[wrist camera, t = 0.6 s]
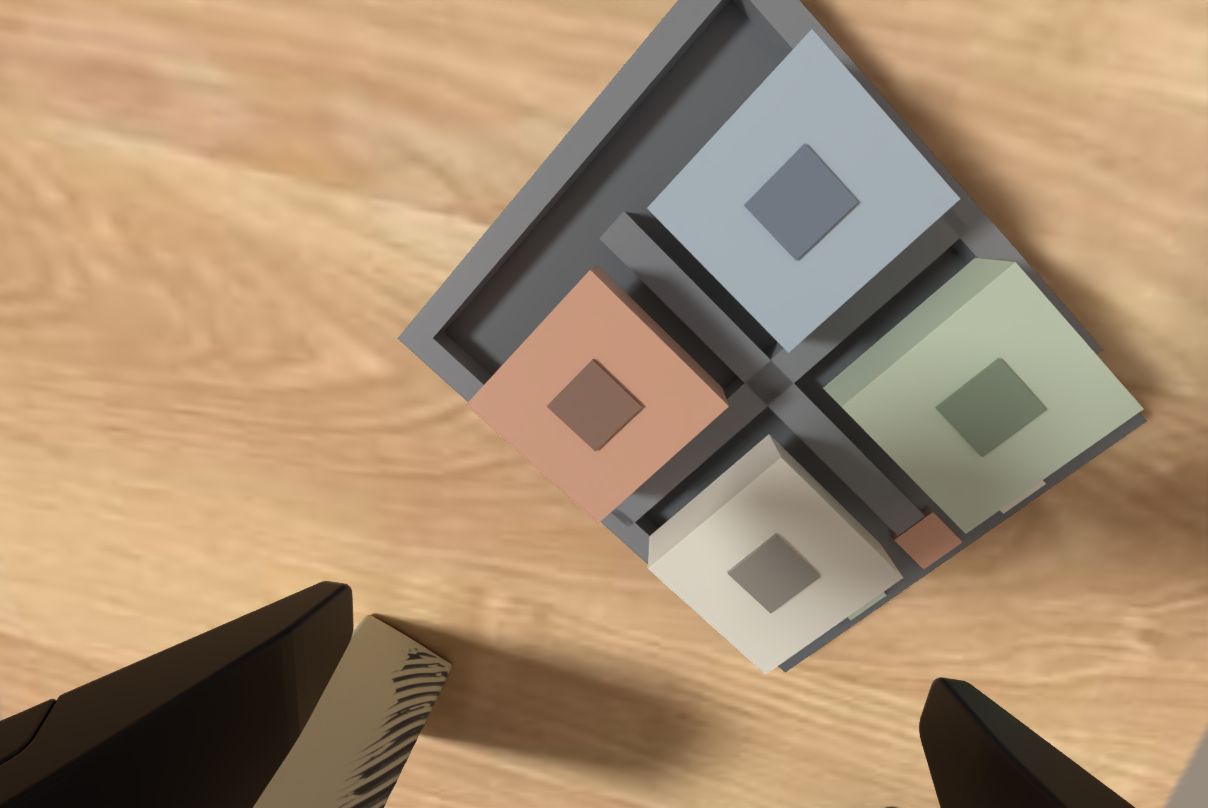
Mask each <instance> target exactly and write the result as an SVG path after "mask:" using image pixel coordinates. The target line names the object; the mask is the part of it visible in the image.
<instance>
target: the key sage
mask: <svg viewBox="0 0 1208 808" xmlns="http://www.w3.org/2000/svg"><path fill="white" fill-rule="evenodd" d="M823 389H824V390H825V391H826V392H827V393H828V394H829V395H830V396H831V397H832V398H833V399H834V400H835V401H836V402H837V403H838V404H839V405H840V406H841V407H842V408H843V409H844V410H845V411H846V412H847V413H848V414H849V415H850V416H851V417H852V418H853V419H854V420H855V421H856V422H857V423H858V424H859V425H860V426H861V427H862V428H863V429H864V430H865V432H866V433H867V434H868V435H869V436H870V437H871V438H872V439H873V440H874V441H875V442H876V443H877V444H878V445H879V446H880V447H881V448H882V449H883V450H884V451H885V452H886V453H887V454H888V455H889V456H890V457H891V458H892V459H893V460H894V461H895V462H896V463H897V464H898V465H899V466H900V467H901V468H902V469H903V470H904V471H905V472H906V473H907V474H908V475H909V476H910V477H911V479H912V480H913V481H914V482H915V483H916V484H917V485H918V486H919V487H920V488H921V489H922V490H923V491H924V492H925V493H926V494H927V495H928V496H929V497H930V498H931V499H932V500H933V501H934V502H935V503H936V504H937V505H938V506H939V507H940V508H941V509H942V510H943V511H944V512H945V513H946V514H947V515H948V516H949V517H950V518H951V519H952V520H953V521H954V522H955V523H956V524H957V525H958V527H959V528H960V529H961V530H962V531H963V532H964V533H965V534H966V533H968V532H969V531H971V530H972V529H974V528H975V527H976V526H978V525H979V524H981V523H982V522H984V521H985V520H986V519H988V518H989V517H991V516H992V515H994V514H995V513H996V512H998V511H999V510H1001V509H1002V508H1003V507H1005V506H1006V505H1008V504H1009V503H1011V502H1012V501H1013V500H1015V499H1016V498H1018V497H1019V496H1021V495H1022V494H1023V493H1025V492H1026V491H1028V490H1029V489H1031V488H1032V487H1033V486H1035V485H1036V484H1038V483H1039V482H1041V481H1042V480H1043V479H1045V478H1046V477H1048V476H1049V475H1050V474H1052V473H1053V472H1055V471H1056V470H1058V469H1059V468H1060V467H1062V466H1063V465H1065V464H1066V463H1068V462H1069V461H1070V460H1072V459H1073V458H1075V457H1076V456H1078V455H1079V454H1080V453H1082V452H1083V451H1085V450H1086V449H1087V448H1089V447H1090V446H1092V445H1093V444H1095V443H1096V442H1097V441H1099V440H1100V439H1102V438H1103V437H1105V436H1106V435H1107V434H1109V433H1110V432H1112V431H1113V430H1115V429H1116V428H1117V427H1119V426H1120V425H1122V424H1123V423H1125V422H1126V421H1127V420H1129V419H1130V418H1132V417H1133V416H1134V415H1136V414H1137V413H1139V412H1140V411H1142V410H1143V407H1142V406H1141V405H1140V404H1139V403H1138V402H1137V401H1136V399H1135V398H1134V397H1133V396H1132V395H1131V394H1130V393H1129V391H1128V390H1127V389H1126V388H1125V387H1124V386H1123V385H1122V383H1121V382H1120V381H1119V380H1118V379H1117V378H1116V377H1115V375H1114V374H1113V373H1112V372H1111V371H1110V370H1109V369H1108V367H1107V366H1106V365H1105V364H1104V363H1103V362H1102V360H1101V359H1100V358H1099V357H1098V356H1097V355H1096V354H1095V352H1094V351H1093V350H1092V349H1091V348H1090V347H1089V346H1088V344H1087V343H1086V342H1085V341H1084V340H1083V339H1082V338H1081V336H1080V335H1079V334H1078V333H1077V332H1076V331H1075V330H1074V328H1073V327H1072V326H1071V325H1070V324H1069V323H1068V322H1067V320H1066V319H1065V318H1064V317H1063V316H1062V315H1061V314H1060V312H1059V311H1058V310H1057V309H1056V308H1055V307H1054V306H1053V304H1052V303H1051V302H1050V301H1049V300H1048V299H1047V298H1046V296H1045V295H1044V294H1043V293H1042V292H1041V291H1040V290H1039V288H1038V287H1037V286H1036V285H1035V284H1034V283H1033V281H1032V280H1031V279H1030V278H1029V277H1028V276H1027V275H1026V273H1025V272H1024V271H1023V270H1022V269H1021V268H1020V267H1019V265H1018V264H1017V263H1016V262H1010V261H1001V260H991V259H981V258H974V259H973V260H972V261H971V262H970V263H969V264H967V265H966V266H965V267H964V268H963V269H962V270H960V271H959V272H958V273H957V274H956V275H955V276H953V277H952V278H951V279H950V280H949V281H948V282H946V283H945V284H944V285H943V286H942V287H941V288H939V289H938V290H937V291H936V292H935V293H934V294H932V295H931V296H930V297H929V298H928V299H927V300H925V301H924V302H923V303H922V304H921V305H919V306H918V307H917V308H916V309H915V310H914V311H912V312H911V313H910V314H909V315H908V316H907V317H905V318H904V319H903V320H902V321H901V322H900V323H898V324H897V325H896V326H895V327H894V328H893V329H891V330H890V331H889V332H888V333H887V334H886V335H884V336H883V337H882V338H881V339H880V340H879V341H877V342H876V343H875V344H874V345H873V346H872V347H870V348H869V349H868V350H867V351H866V352H865V353H863V354H862V355H861V356H860V357H859V358H858V359H856V360H855V361H854V362H853V363H852V364H851V365H849V366H848V367H847V368H846V369H845V370H844V371H842V372H841V373H840V374H839V375H838V376H836V377H835V378H834V379H833V380H832V381H831V382H829V383H828V384H827V385H826V386H825V387H824V388H823Z"/></svg>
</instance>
